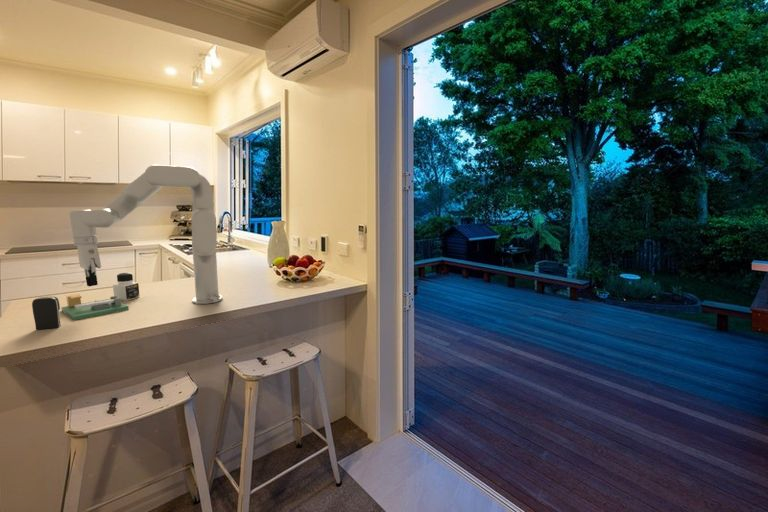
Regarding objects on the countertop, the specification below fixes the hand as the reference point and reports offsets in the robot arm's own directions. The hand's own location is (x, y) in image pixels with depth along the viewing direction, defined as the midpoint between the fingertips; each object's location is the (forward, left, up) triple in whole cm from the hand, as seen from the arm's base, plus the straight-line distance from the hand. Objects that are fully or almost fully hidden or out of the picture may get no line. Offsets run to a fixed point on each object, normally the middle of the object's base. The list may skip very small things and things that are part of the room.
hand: (92, 285), depth 151 cm
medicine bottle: (+14, -16, -12) cm, 24 cm away
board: (+4, -1, -11) cm, 12 cm away
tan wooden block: (+10, +4, -10) cm, 14 cm away
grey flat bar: (0, -1, -8) cm, 9 cm away
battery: (-9, +16, -12) cm, 22 cm away
